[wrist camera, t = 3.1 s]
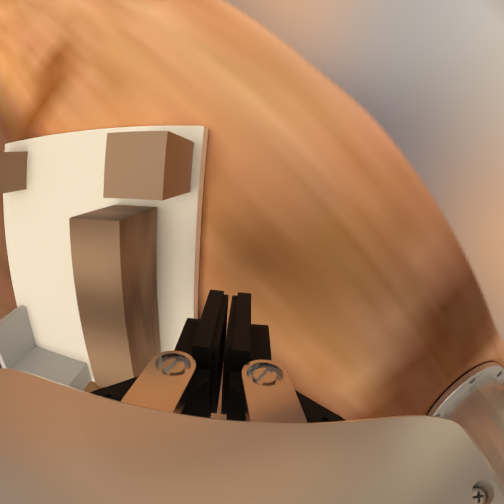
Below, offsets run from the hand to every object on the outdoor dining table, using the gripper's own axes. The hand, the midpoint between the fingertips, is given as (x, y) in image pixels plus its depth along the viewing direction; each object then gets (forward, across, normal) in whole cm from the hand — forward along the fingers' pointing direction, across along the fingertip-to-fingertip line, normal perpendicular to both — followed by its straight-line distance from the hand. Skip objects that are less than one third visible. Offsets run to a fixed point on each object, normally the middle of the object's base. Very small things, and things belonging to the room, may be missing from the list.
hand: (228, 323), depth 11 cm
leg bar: (+6, +7, +3) cm, 10 cm away
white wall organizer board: (+8, +12, +2) cm, 14 cm away
